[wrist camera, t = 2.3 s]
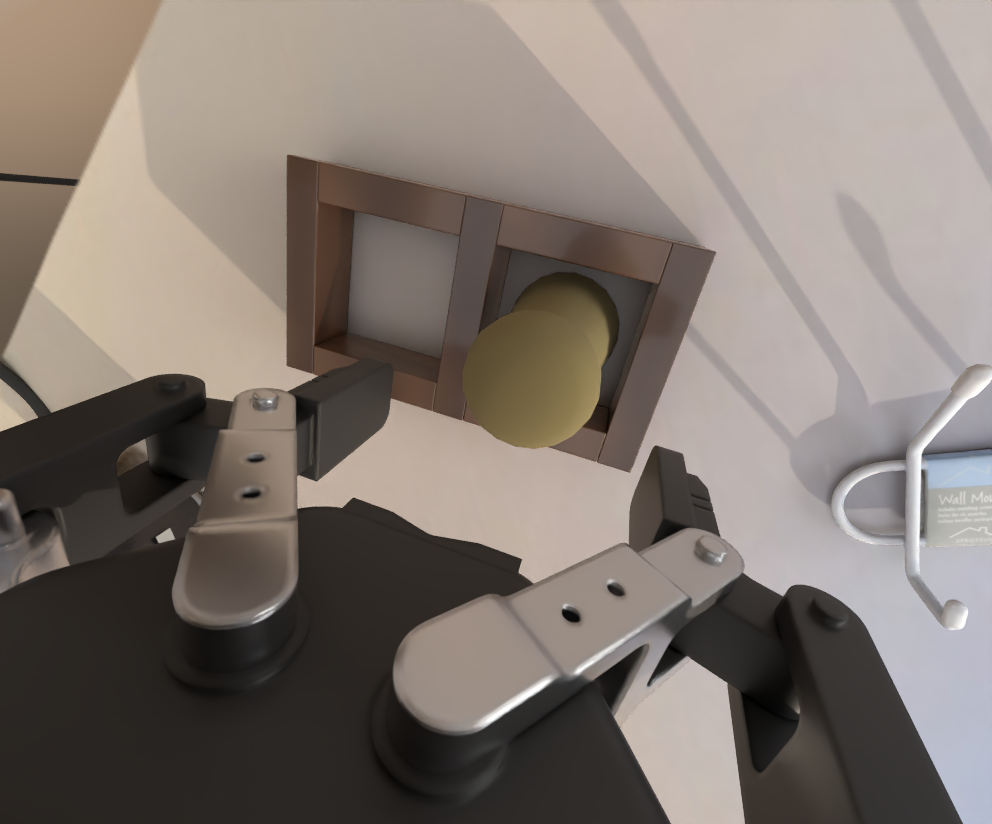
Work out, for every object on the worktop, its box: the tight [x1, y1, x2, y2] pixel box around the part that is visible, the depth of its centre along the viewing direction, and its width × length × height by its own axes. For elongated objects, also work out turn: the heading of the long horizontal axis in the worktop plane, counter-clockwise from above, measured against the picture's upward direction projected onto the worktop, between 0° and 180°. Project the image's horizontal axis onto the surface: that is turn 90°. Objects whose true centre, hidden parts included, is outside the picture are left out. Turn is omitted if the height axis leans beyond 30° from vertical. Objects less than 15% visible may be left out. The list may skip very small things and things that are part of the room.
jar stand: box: [287, 155, 716, 472], centre depth 25 cm, size 21×11×4 cm, turn 79°
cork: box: [462, 272, 619, 449], centre depth 21 cm, size 6×6×11 cm
